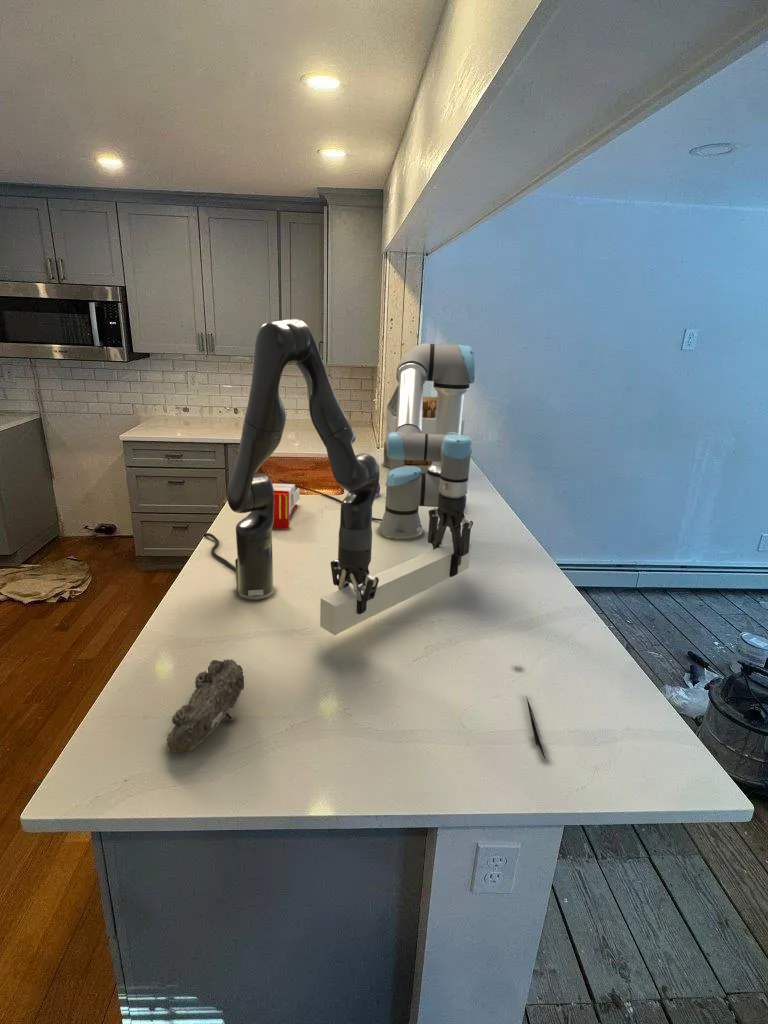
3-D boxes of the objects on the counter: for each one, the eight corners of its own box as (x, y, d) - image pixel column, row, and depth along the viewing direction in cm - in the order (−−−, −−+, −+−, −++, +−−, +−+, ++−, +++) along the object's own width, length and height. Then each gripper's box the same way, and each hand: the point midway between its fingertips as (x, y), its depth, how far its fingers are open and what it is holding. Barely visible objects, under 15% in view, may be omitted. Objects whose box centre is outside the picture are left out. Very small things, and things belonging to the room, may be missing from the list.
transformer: (382, 463, 289) (386, 382, 275) (445, 464, 293) (451, 384, 279) (390, 482, 257) (394, 392, 243) (460, 483, 261) (468, 394, 247)
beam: (454, 562, 167) (457, 539, 164) (468, 568, 164) (471, 544, 161) (320, 626, 131) (320, 597, 128) (334, 635, 128) (335, 606, 125)
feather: (518, 672, 127) (523, 666, 127) (544, 763, 101) (551, 755, 100) (512, 668, 127) (517, 662, 127) (537, 758, 101) (544, 751, 100)
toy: (301, 479, 224) (291, 492, 194) (301, 512, 226) (291, 530, 197) (270, 478, 223) (256, 491, 194) (271, 511, 226) (256, 529, 197)
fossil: (192, 660, 117) (244, 628, 112) (224, 691, 120) (276, 661, 115) (142, 746, 98) (202, 712, 93) (182, 779, 101) (242, 748, 96)
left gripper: (321, 536, 129) (320, 602, 135) (365, 557, 120) (362, 626, 126) (345, 528, 135) (343, 592, 141) (389, 548, 126) (385, 614, 132)
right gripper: (417, 488, 154) (412, 564, 163) (472, 506, 143) (463, 587, 151) (434, 482, 159) (428, 557, 168) (488, 499, 148) (479, 578, 156)
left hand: (352, 607), depth 134 cm, fingers closed on beam, 5 cm apart
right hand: (445, 571), depth 159 cm, fingers closed on beam, 5 cm apart
